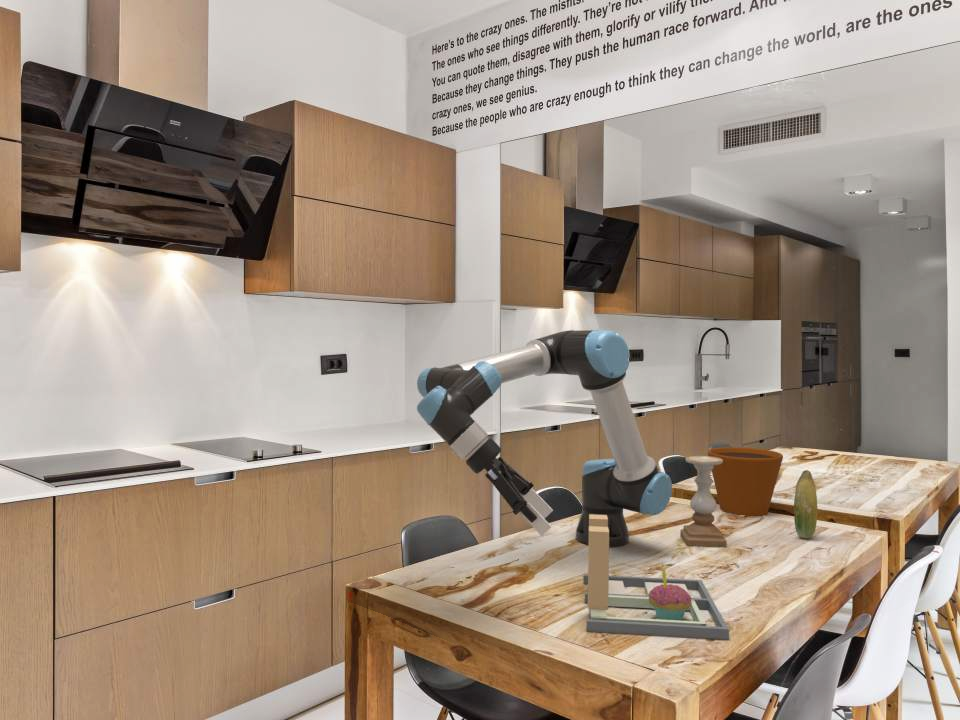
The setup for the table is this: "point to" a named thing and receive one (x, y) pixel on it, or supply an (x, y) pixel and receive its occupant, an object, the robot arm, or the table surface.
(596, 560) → the pale green frame
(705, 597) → the board
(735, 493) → the flower pot
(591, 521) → the broken strip
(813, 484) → the vegetable
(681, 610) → the cupcake
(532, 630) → the table surface
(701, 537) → the candle holder
